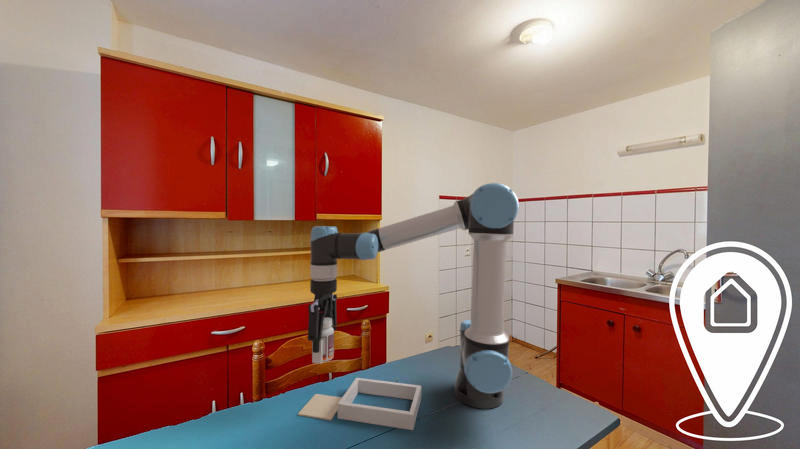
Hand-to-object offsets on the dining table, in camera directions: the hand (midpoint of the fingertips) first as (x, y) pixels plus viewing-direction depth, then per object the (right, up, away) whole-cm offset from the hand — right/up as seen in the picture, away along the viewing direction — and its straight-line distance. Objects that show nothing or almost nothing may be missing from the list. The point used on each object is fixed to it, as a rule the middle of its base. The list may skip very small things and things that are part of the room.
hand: (323, 357), depth 87 cm
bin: (+17, -15, 0) cm, 23 cm away
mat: (0, -15, 0) cm, 15 cm away
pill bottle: (0, -1, 0) cm, 1 cm away
